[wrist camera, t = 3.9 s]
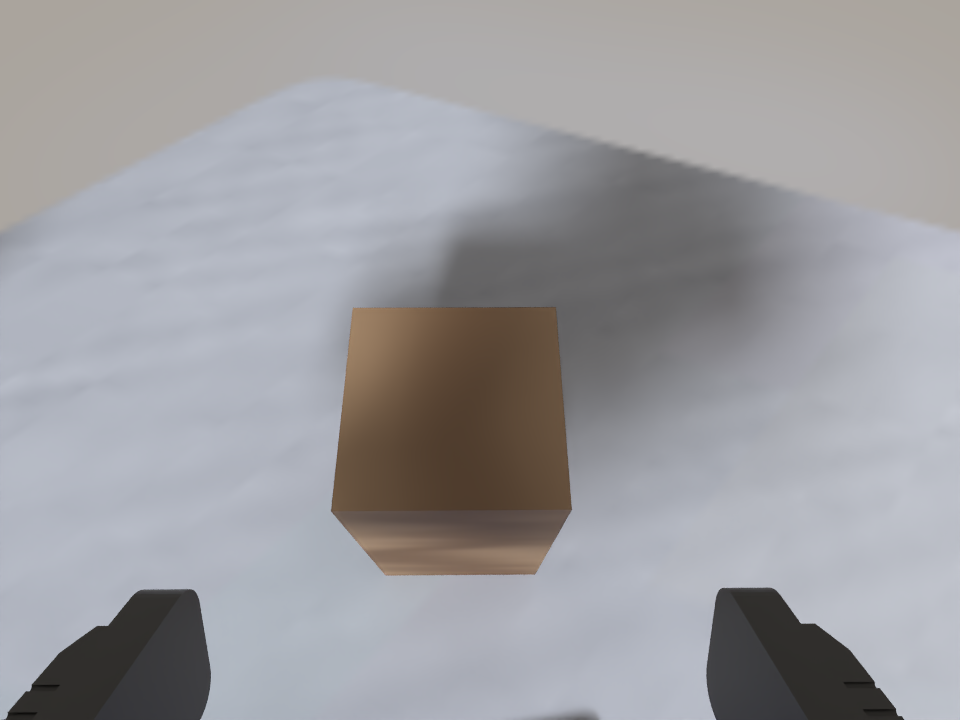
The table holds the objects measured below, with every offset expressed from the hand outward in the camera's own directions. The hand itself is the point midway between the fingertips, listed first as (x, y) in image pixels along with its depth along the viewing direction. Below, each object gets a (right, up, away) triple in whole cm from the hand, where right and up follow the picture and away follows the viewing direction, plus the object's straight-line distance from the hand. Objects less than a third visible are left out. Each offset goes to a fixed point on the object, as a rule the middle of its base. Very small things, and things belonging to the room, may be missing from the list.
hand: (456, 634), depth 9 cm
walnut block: (0, 0, +10) cm, 10 cm away
